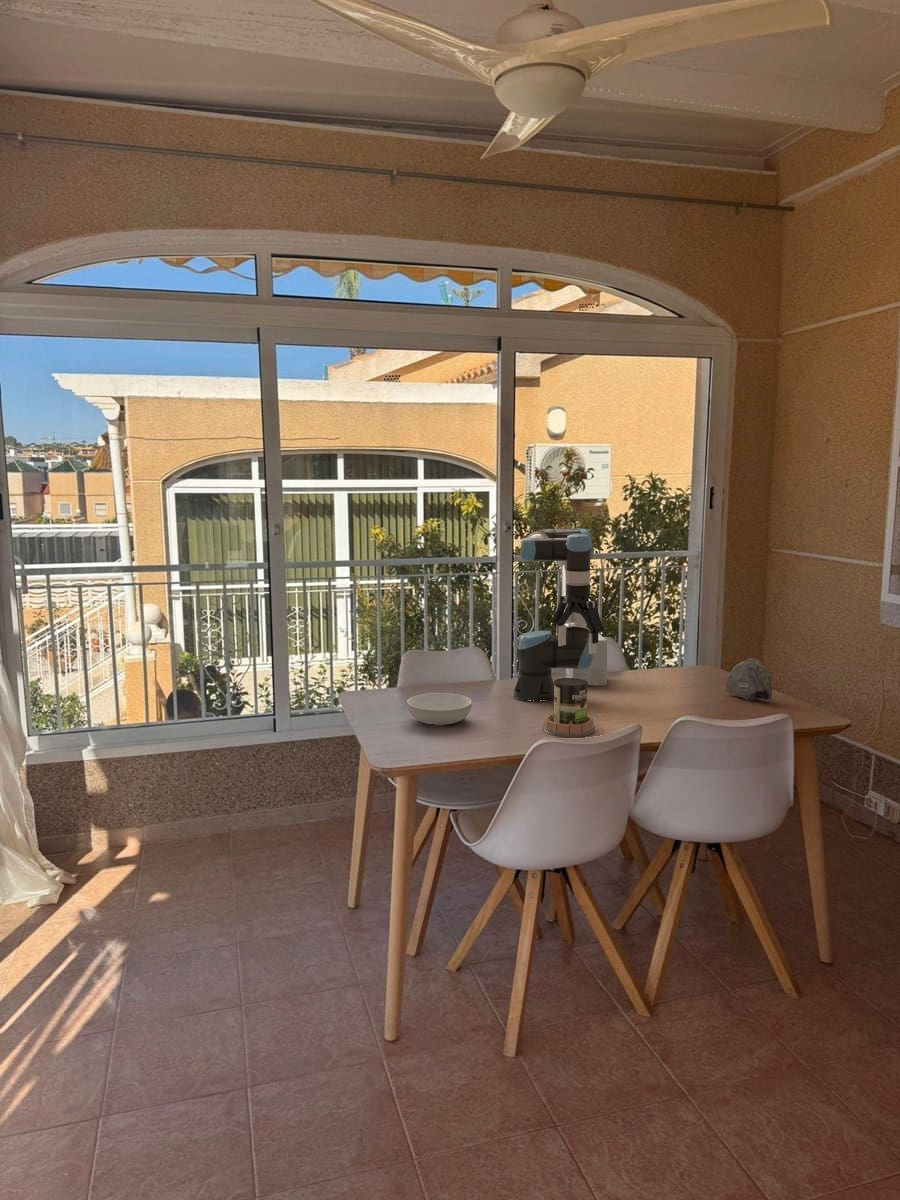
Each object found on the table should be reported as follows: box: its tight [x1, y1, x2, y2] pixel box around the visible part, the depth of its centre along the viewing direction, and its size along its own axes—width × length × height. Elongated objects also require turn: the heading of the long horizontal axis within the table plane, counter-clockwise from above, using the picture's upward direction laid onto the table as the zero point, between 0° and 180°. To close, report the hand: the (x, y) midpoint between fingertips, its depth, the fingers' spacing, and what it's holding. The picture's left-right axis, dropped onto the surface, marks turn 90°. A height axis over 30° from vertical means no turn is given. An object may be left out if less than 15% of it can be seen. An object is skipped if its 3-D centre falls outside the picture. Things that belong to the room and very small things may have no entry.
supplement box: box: [565, 633, 608, 686], centre depth 311 cm, size 13×13×18 cm
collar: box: [542, 712, 596, 738], centre depth 252 cm, size 16×16×4 cm
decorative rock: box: [724, 657, 773, 701], centre depth 284 cm, size 16×7×15 cm, turn 33°
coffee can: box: [553, 677, 588, 724], centre depth 251 cm, size 10×10×14 cm
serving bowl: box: [406, 692, 473, 726], centre depth 262 cm, size 21×21×7 cm
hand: (577, 649), depth 260 cm, fingers open, 13 cm apart
